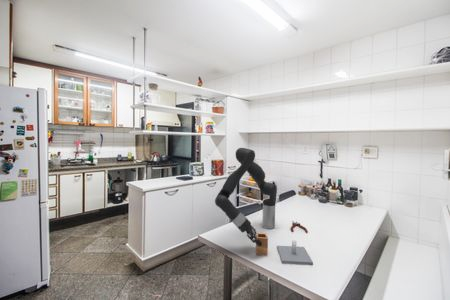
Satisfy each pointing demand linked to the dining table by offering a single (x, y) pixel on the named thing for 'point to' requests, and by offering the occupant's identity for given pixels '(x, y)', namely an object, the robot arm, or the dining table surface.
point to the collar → (264, 247)
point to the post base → (294, 255)
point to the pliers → (298, 226)
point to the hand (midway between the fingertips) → (260, 241)
